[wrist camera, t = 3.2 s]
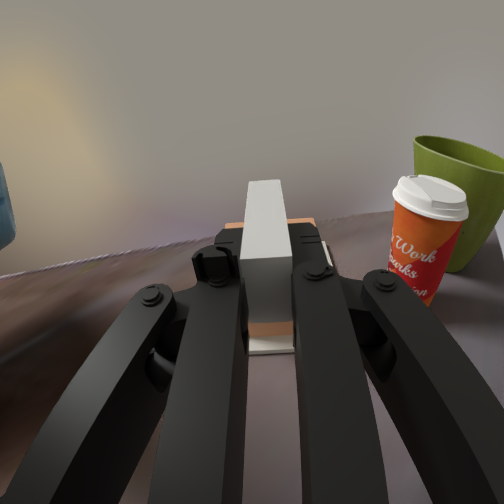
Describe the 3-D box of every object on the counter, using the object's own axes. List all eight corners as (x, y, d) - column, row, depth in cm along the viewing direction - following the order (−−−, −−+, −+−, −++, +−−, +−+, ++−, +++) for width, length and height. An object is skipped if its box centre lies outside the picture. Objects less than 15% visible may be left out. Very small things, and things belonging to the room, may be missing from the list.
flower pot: (490, 254, 33) (514, 159, 25) (478, 307, 26) (522, 184, 17) (416, 222, 43) (428, 131, 34) (382, 262, 35) (397, 143, 26)
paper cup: (361, 292, 31) (377, 175, 23) (409, 276, 32) (431, 170, 25) (398, 339, 25) (437, 212, 17) (446, 315, 26) (486, 201, 18)
